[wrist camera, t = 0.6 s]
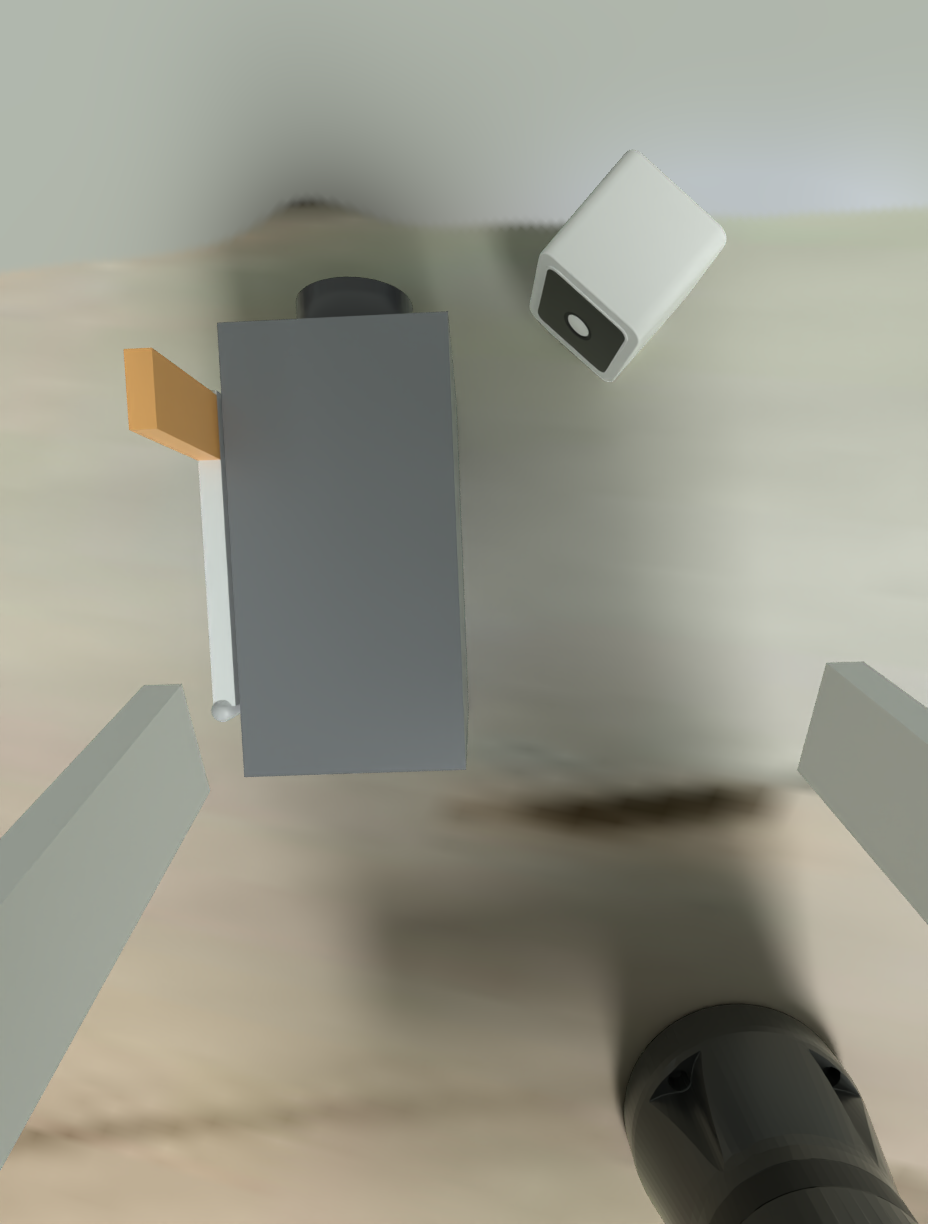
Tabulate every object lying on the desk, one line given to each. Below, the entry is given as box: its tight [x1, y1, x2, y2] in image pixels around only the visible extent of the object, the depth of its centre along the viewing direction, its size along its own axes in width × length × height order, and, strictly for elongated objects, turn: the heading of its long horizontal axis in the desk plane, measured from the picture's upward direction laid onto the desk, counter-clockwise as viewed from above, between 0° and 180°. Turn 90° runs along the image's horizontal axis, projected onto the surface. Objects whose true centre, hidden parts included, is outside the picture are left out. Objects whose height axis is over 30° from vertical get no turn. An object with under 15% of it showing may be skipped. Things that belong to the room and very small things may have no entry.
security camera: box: [529, 150, 726, 382], centre depth 31 cm, size 6×7×10 cm
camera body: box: [217, 277, 469, 777], centre depth 31 cm, size 23×10×12 cm, turn 2°
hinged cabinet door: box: [124, 348, 240, 722], centre depth 28 cm, size 15×1×16 cm, turn 2°
